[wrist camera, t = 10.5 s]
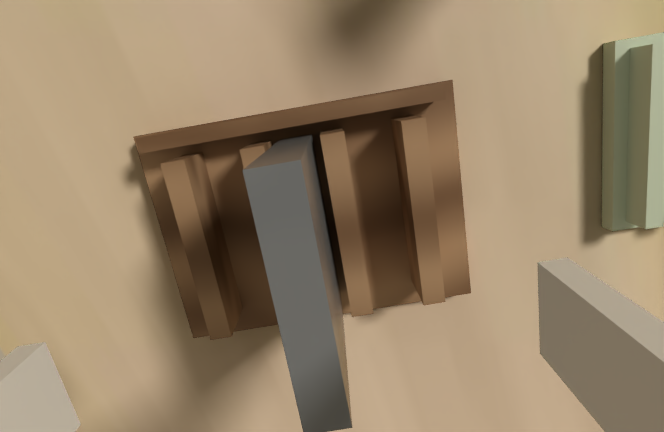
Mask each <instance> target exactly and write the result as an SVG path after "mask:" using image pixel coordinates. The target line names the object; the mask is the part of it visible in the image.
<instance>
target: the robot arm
mask: <svg viewBox="0 0 664 432" xmlns="http://www.w3.org/2000/svg"><path fill="white" fill-rule="evenodd" d="M538 296H539V334H540V354H541V355H542V356H543V358H544V359H545V360H546V361H547V362H548V364H549V365H550V366H551V367H552V368H553V370H554V371H555V372H556V373H557V374H558V376H559V377H560V378H561V379H562V381H563V382H564V383H565V384H566V385H567V387H568V388H569V389H570V390H571V391H572V393H573V394H574V395H575V396H576V397H577V399H578V400H579V401H580V402H581V403H582V405H583V406H584V407H585V408H586V409H587V411H588V412H589V413H590V414H591V415H592V417H593V418H594V419H595V420H596V422H597V423H598V424H599V425H600V426H601V428H602V429H603V430H604V431H605V432H664V322H663V321H661V320H660V319H658V318H657V317H655V316H654V315H653V314H651V313H650V312H648V311H647V310H645V309H644V308H642V307H641V306H639V305H638V304H636V303H635V302H633V301H632V300H630V299H629V298H627V297H626V296H624V295H623V294H621V293H620V292H618V291H617V290H615V289H614V288H612V287H611V286H609V285H608V284H606V283H605V282H603V281H602V280H600V279H599V278H597V277H596V276H595V275H593V274H592V273H590V272H589V271H587V270H586V269H584V268H583V267H581V266H580V265H578V264H577V263H575V262H574V261H572V260H571V259H569V258H568V257H567V258H561V259H555V260H549V261H542V262H538ZM80 425H81V424H80V421H79V419H78V417H77V414H76V412H75V410H74V407H73V405H72V403H71V400H70V398H69V396H68V394H67V391H66V389H65V387H64V384H63V382H62V380H61V377H60V375H59V373H58V370H57V368H56V366H55V364H54V361H53V359H52V357H51V354H50V352H49V350H48V347H47V345H46V343H45V342H42V343H36V344H30V345H23V346H18V347H16V348H15V349H14V350H13V351H11V352H10V353H9V354H8V355H7V356H5V357H4V358H3V359H2V360H0V432H75V431H76V430H77V429H78V427H79V426H80Z"/></svg>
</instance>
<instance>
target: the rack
mask: <svg viewBox="0 0 664 432" xmlns="http://www.w3.org/2000/svg"><path fill="white" fill-rule="evenodd" d="M308 134H312V136H313V142H314V147H315V153H316V158H317V164H318V169H319V175H320V180H321V186H322V191H323V197H324V202H325V208H326V213H327V219H328V224H329V230H330V235H331V241H332V246H333V252H334V257H335V263H336V268H337V274H338V279H339V285H340V290H341V299H342V311H343V314H345V313H351V315H352V317H355V316H361V315H367V314H373V309H376V308H382V307H388V306H394V305H400V304H407V303H413V302H419V301H422V303H423V305H429V304H435V303H441V302H445V297H450V296H456V295H462V294H468V293H471V288H470V277H469V265H468V254H467V242H466V231H465V219H464V208H463V196H462V185H461V173H460V162H459V150H458V139H457V127H456V116H455V104H454V93H453V81H452V80H448V81H443V82H437V83H432V84H426V85H420V86H415V87H409V88H404V89H398V90H392V91H387V92H381V93H376V94H370V95H364V96H359V97H353V98H348V99H342V100H336V101H331V102H325V103H320V104H314V105H308V106H303V107H297V108H292V109H286V110H280V111H275V112H269V113H264V114H258V115H252V116H247V117H241V118H235V119H230V120H224V121H219V122H213V123H207V124H202V125H196V126H191V127H185V128H179V129H174V130H168V131H163V132H157V133H151V134H146V135H140V136H135V137H134V140H135V144H136V147H137V150H138V154H139V157H140V160H141V164H142V167H143V171H144V174H145V177H146V181H147V184H148V187H149V191H150V194H151V197H152V201H153V204H154V207H155V211H156V214H157V217H158V221H159V224H160V227H161V231H162V234H163V237H164V241H165V244H166V247H167V251H168V254H169V257H170V261H171V264H172V268H173V271H174V274H175V278H176V281H177V284H178V288H179V291H180V294H181V298H182V301H183V304H184V308H185V311H186V314H187V318H188V321H189V324H190V328H191V331H192V334H193V338H197V337H203V336H210V340H213V339H219V338H225V337H231V336H232V334H233V332H234V331H240V330H246V329H253V328H259V327H265V326H271V325H277V324H278V321H277V316H276V312H275V308H274V304H273V299H272V295H271V291H270V286H269V282H268V278H267V273H266V269H265V265H264V261H263V256H262V252H261V248H260V243H259V239H258V235H257V231H256V226H255V222H254V218H253V213H252V209H251V205H250V200H249V196H248V192H247V188H246V183H245V179H244V175H243V169H244V168H246V167H247V166H248V165H249V164H251V163H252V162H253V161H254V160H256V159H257V158H258V157H259V156H261V155H262V154H263V153H264V152H266V151H267V150H268V149H269V148H271V147H272V146H273V145H274V144H276V143H277V142H278V141H279V140H281V139H285V138H291V137H297V136H302V135H308Z"/></svg>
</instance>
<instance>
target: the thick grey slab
mask: <svg viewBox="0 0 664 432" xmlns="http://www.w3.org/2000/svg"><path fill="white" fill-rule="evenodd" d="M243 175H244V179H245V183H246V188H247V192H248V196H249V200H250V205H251V209H252V213H253V218H254V222H255V226H256V231H257V235H258V239H259V243H260V248H261V252H262V256H263V261H264V265H265V269H266V273H267V278H268V282H269V286H270V291H271V295H272V299H273V304H274V308H275V312H276V316H277V321H278V325H279V329H280V334H281V338H282V342H283V347H284V351H285V355H286V359H287V364H288V368H289V372H290V377H291V381H292V385H293V389H294V394H295V398H296V402H297V407H298V411H299V415H300V420H301V424H302V428H303V432H327V431H334V430H340V429H347V428H352V419H351V407H350V395H349V383H348V371H347V359H346V347H345V335H344V323H343V311H342V299H341V290H340V285H339V279H338V274H337V268H336V263H335V257H334V252H333V246H332V241H331V235H330V230H329V224H328V219H327V213H326V208H325V202H324V197H323V191H322V186H321V180H320V175H319V169H318V164H317V158H316V153H315V147H314V142H313V136H312V134H308V135H302V136H297V137H291V138H285V139H281V140H279V141H278V142H277V143H276V144H274V145H273V146H272V147H271V148H269V149H268V150H267V151H266V152H264V153H263V154H262V155H261V156H259V157H258V158H257V159H256V160H254V161H253V162H252V163H251V164H249V165H248V166H247V167H246V168H244V169H243Z"/></svg>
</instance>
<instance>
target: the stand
mask: <svg viewBox="0 0 664 432" xmlns="http://www.w3.org/2000/svg"><path fill="white" fill-rule="evenodd" d="M663 223H664V32H663V33H657V34H652V35H646V36H641V37H635V38H629V39H624V40H618V41H613V42H609V43H604V44H603V130H602V227H604V228H606V229H608V230H610V231H618V230H624V229H630V228H636V227H641V228H643V229H651V228H657V227H663Z"/></svg>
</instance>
